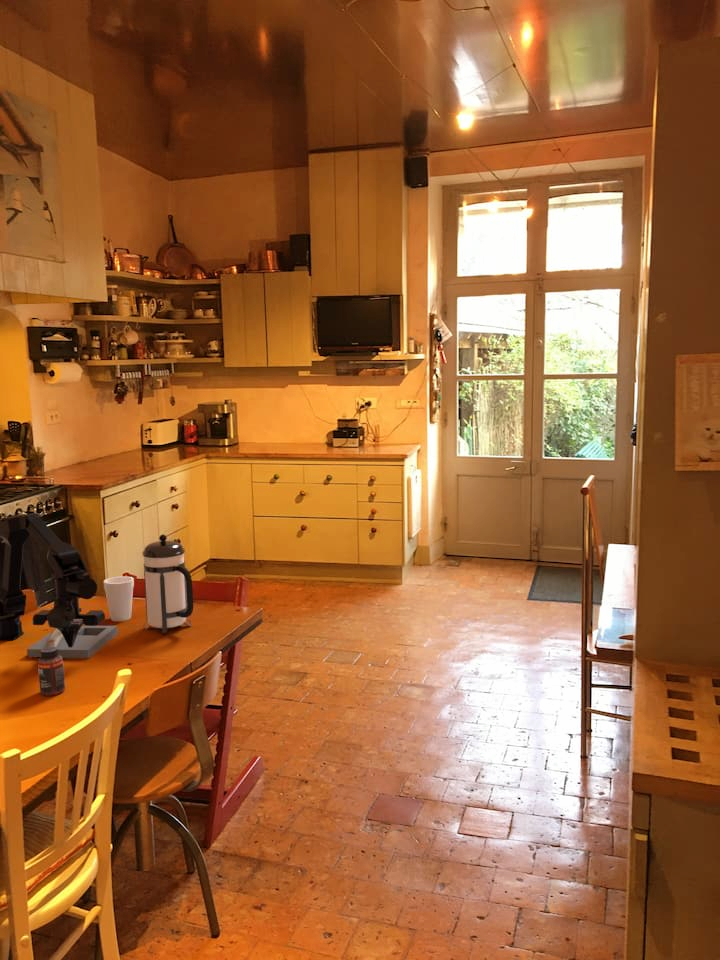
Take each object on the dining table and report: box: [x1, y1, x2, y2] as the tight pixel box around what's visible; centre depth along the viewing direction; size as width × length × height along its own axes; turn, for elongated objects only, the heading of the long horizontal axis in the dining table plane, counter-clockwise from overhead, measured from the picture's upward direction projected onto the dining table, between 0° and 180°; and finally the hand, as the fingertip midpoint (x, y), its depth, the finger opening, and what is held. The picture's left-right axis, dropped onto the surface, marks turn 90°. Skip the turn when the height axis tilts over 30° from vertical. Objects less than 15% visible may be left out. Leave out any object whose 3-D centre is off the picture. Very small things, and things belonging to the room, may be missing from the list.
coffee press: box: [142, 534, 194, 636], centre depth 240 cm, size 17×16×30 cm
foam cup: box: [103, 575, 135, 622], centre depth 252 cm, size 10×9×13 cm
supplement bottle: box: [37, 647, 66, 697], centre depth 193 cm, size 6×6×11 cm
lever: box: [47, 628, 63, 647], centre depth 225 cm, size 2×24×4 cm, turn 10°
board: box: [26, 625, 119, 659], centre depth 228 cm, size 18×21×2 cm
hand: (71, 647), depth 216 cm, fingers closed
